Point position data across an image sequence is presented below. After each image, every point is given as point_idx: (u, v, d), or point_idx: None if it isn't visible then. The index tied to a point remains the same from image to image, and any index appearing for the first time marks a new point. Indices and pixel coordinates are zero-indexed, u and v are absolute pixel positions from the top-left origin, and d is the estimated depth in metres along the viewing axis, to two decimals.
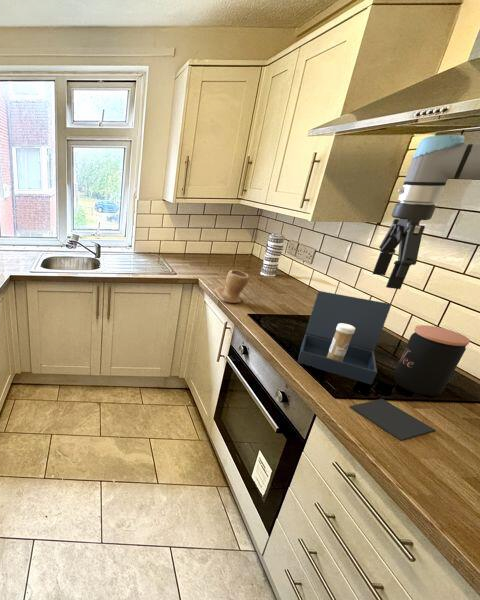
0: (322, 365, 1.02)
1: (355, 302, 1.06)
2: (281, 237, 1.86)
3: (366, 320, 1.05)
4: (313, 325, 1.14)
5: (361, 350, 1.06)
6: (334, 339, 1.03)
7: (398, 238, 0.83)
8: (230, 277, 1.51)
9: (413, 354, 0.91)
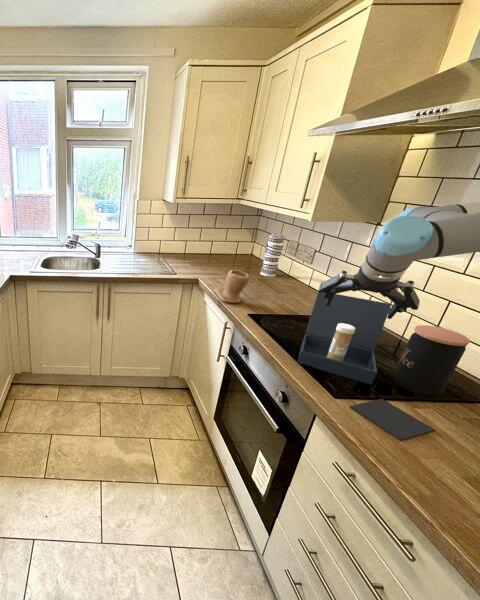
0: (322, 365, 1.02)
1: (355, 302, 1.06)
2: (281, 237, 1.86)
3: (366, 320, 1.05)
4: (313, 325, 1.14)
5: (361, 350, 1.06)
6: (334, 339, 1.03)
7: (386, 296, 0.78)
8: (230, 277, 1.51)
9: (413, 354, 0.91)
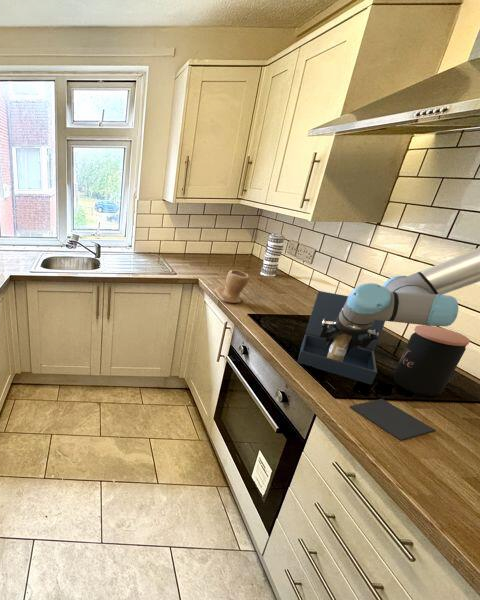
0: (322, 365, 1.02)
1: None
2: (281, 237, 1.86)
3: None
4: (313, 325, 1.14)
5: (361, 350, 1.06)
6: (334, 339, 1.03)
7: (354, 338, 0.95)
8: (230, 277, 1.51)
9: (413, 354, 0.91)
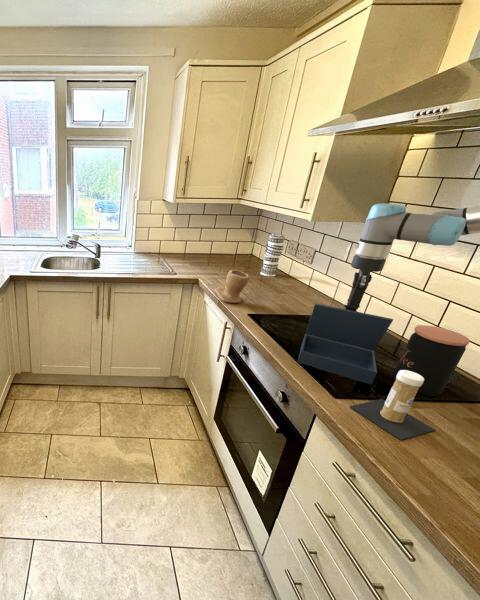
0: (322, 365, 1.02)
1: (354, 316, 1.00)
2: (281, 237, 1.86)
3: (366, 330, 1.01)
4: (312, 329, 1.12)
5: (361, 350, 1.06)
6: (394, 391, 0.79)
7: None
8: (230, 277, 1.51)
9: (413, 354, 0.91)
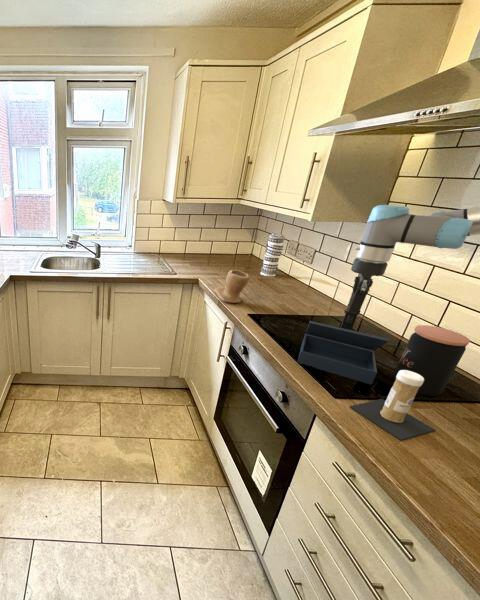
0: (322, 365, 1.02)
1: (350, 333, 0.98)
2: (281, 237, 1.86)
3: (363, 341, 1.00)
4: (311, 333, 1.12)
5: (361, 350, 1.06)
6: (394, 391, 0.79)
7: (353, 290, 0.96)
8: (230, 277, 1.51)
9: (413, 354, 0.91)
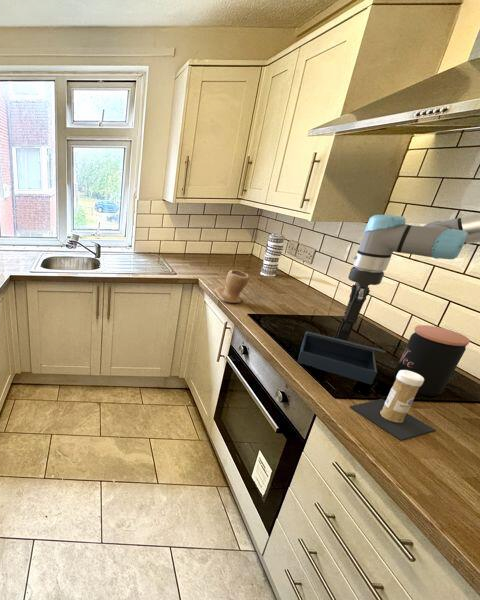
0: (322, 365, 1.02)
1: (347, 343, 0.98)
2: (281, 237, 1.86)
3: (361, 347, 1.00)
4: None
5: (361, 350, 1.06)
6: (394, 391, 0.79)
7: (350, 298, 0.97)
8: (230, 277, 1.51)
9: (413, 354, 0.91)
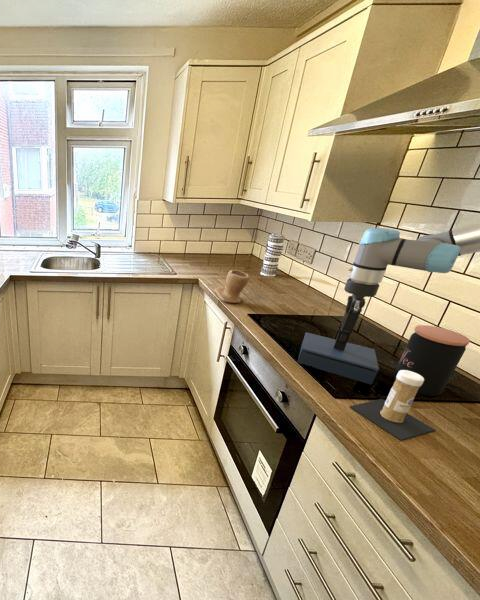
0: (322, 365, 1.02)
1: None
2: (281, 237, 1.86)
3: None
4: None
5: None
6: (394, 391, 0.79)
7: (346, 309, 0.98)
8: (230, 277, 1.51)
9: (413, 354, 0.91)
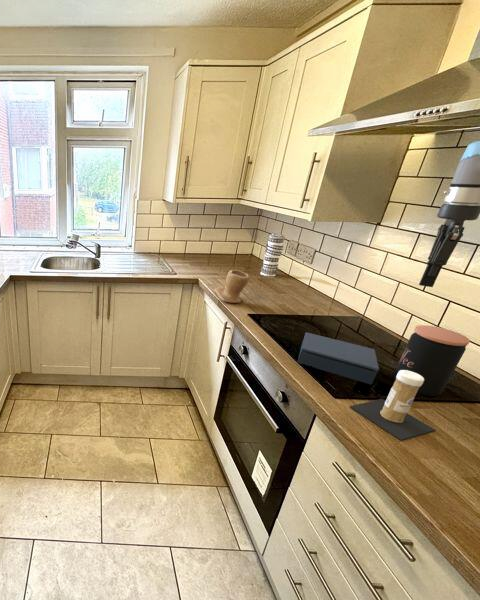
0: (322, 365, 1.02)
1: None
2: (281, 237, 1.86)
3: None
4: None
5: None
6: (394, 391, 0.79)
7: (439, 238, 0.89)
8: (230, 277, 1.51)
9: (413, 354, 0.91)
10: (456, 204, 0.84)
